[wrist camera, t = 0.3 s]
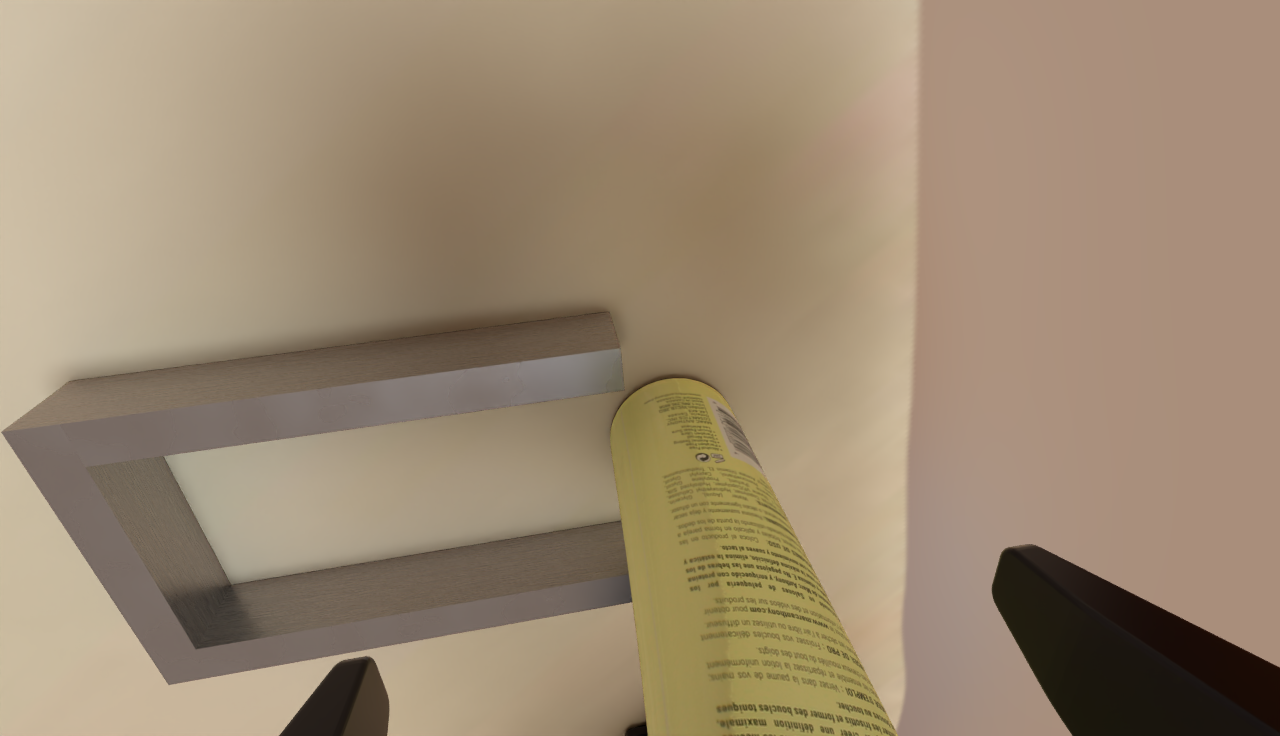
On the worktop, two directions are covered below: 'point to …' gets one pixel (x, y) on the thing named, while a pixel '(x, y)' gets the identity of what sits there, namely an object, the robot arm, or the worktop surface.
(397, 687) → the worktop surface
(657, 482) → the tube
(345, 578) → the u collar
